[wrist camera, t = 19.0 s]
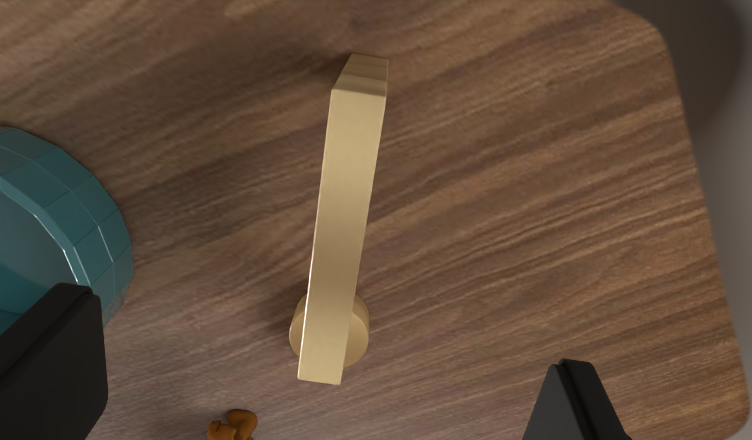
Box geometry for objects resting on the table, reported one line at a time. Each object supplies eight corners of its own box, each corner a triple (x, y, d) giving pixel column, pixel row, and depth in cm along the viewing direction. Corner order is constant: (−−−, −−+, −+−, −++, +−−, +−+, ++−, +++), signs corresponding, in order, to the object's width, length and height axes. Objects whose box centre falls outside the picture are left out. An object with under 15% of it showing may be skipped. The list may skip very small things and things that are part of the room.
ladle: (324, 48, 26) (291, 81, 17) (416, 63, 26) (426, 103, 17) (291, 342, 33) (257, 466, 24) (364, 353, 33) (354, 479, 24)
